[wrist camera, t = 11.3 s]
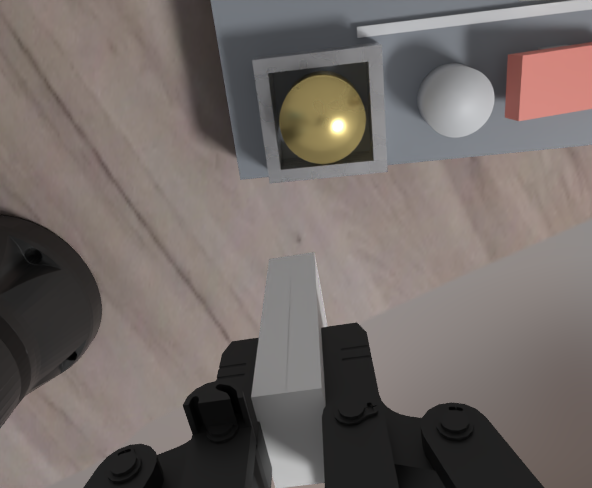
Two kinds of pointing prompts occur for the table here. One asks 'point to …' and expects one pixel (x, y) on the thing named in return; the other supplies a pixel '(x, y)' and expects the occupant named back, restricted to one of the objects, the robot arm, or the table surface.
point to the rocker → (549, 82)
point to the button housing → (269, 118)
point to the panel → (406, 70)
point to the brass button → (322, 117)
